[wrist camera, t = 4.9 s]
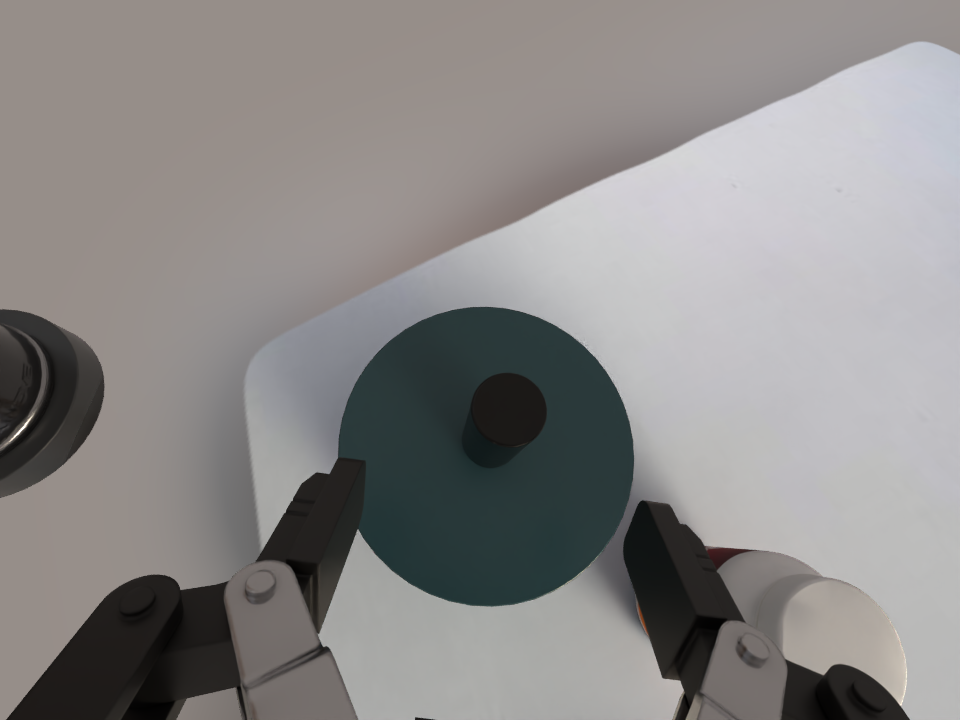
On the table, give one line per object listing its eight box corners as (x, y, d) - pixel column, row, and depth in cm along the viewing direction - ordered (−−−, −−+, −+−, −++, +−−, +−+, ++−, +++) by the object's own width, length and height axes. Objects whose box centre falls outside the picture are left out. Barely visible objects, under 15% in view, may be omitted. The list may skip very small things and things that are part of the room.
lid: (310, 580, 18) (240, 612, 11) (376, 298, 22) (351, 211, 16) (623, 620, 18) (719, 671, 12) (625, 336, 22) (696, 266, 16)
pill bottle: (736, 556, 27) (921, 577, 17) (734, 675, 25) (946, 784, 14) (636, 532, 27) (759, 538, 17) (625, 649, 25) (759, 739, 14)
